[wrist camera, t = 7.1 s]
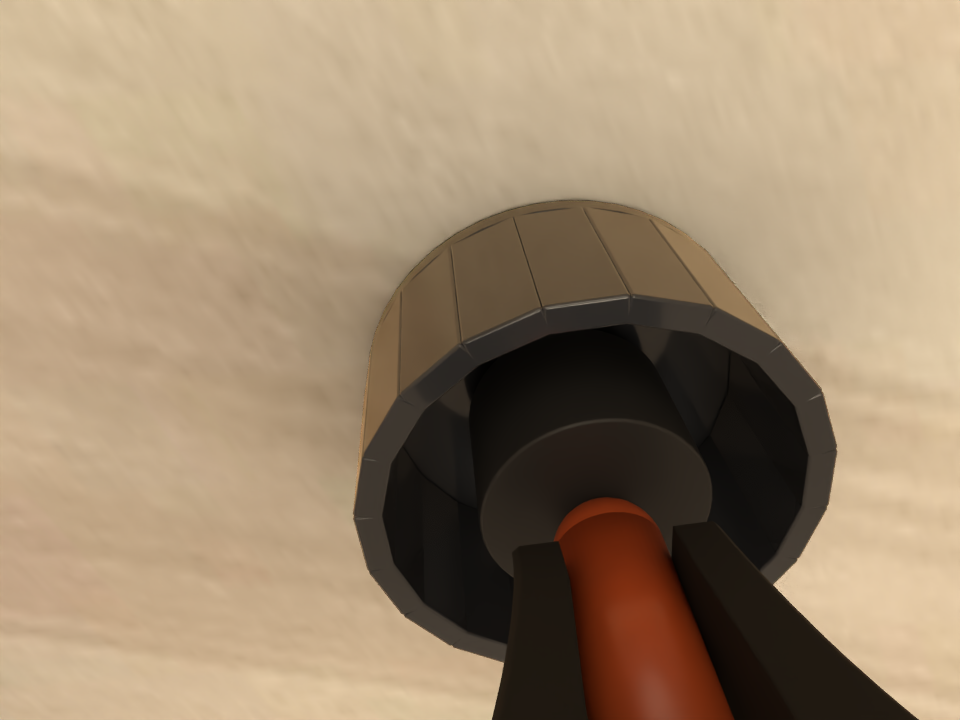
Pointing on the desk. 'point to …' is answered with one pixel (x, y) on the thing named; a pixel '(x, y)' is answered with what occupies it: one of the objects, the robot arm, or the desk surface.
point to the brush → (601, 512)
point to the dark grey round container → (559, 309)
